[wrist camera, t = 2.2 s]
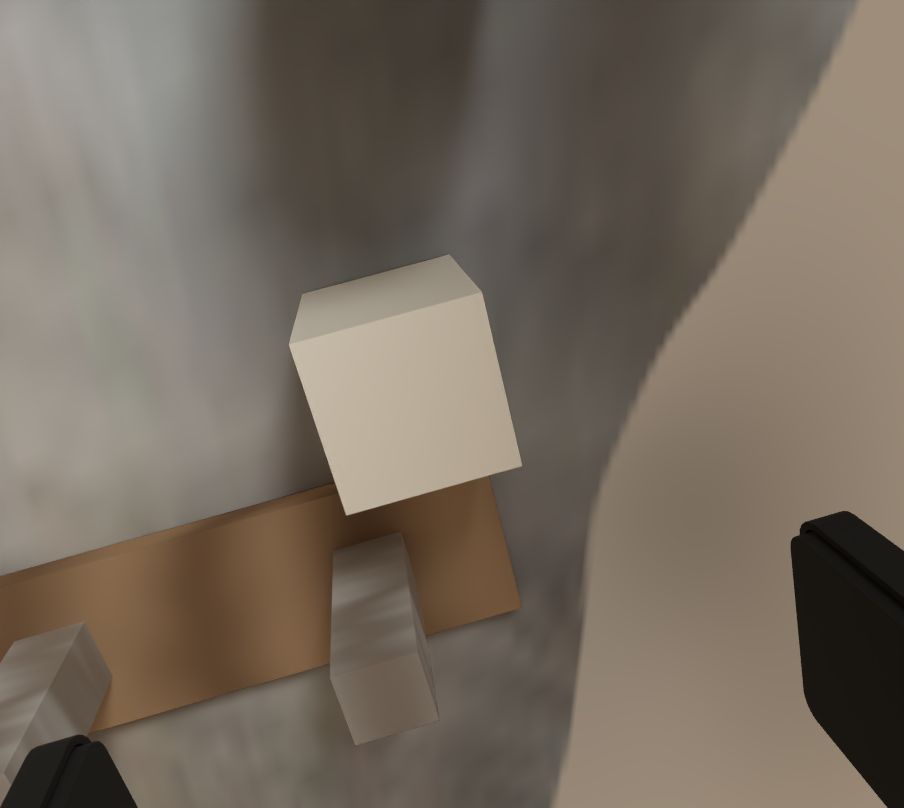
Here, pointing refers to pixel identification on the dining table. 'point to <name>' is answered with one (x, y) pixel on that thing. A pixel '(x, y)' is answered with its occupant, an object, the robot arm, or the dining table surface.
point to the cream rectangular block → (403, 383)
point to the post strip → (251, 613)
